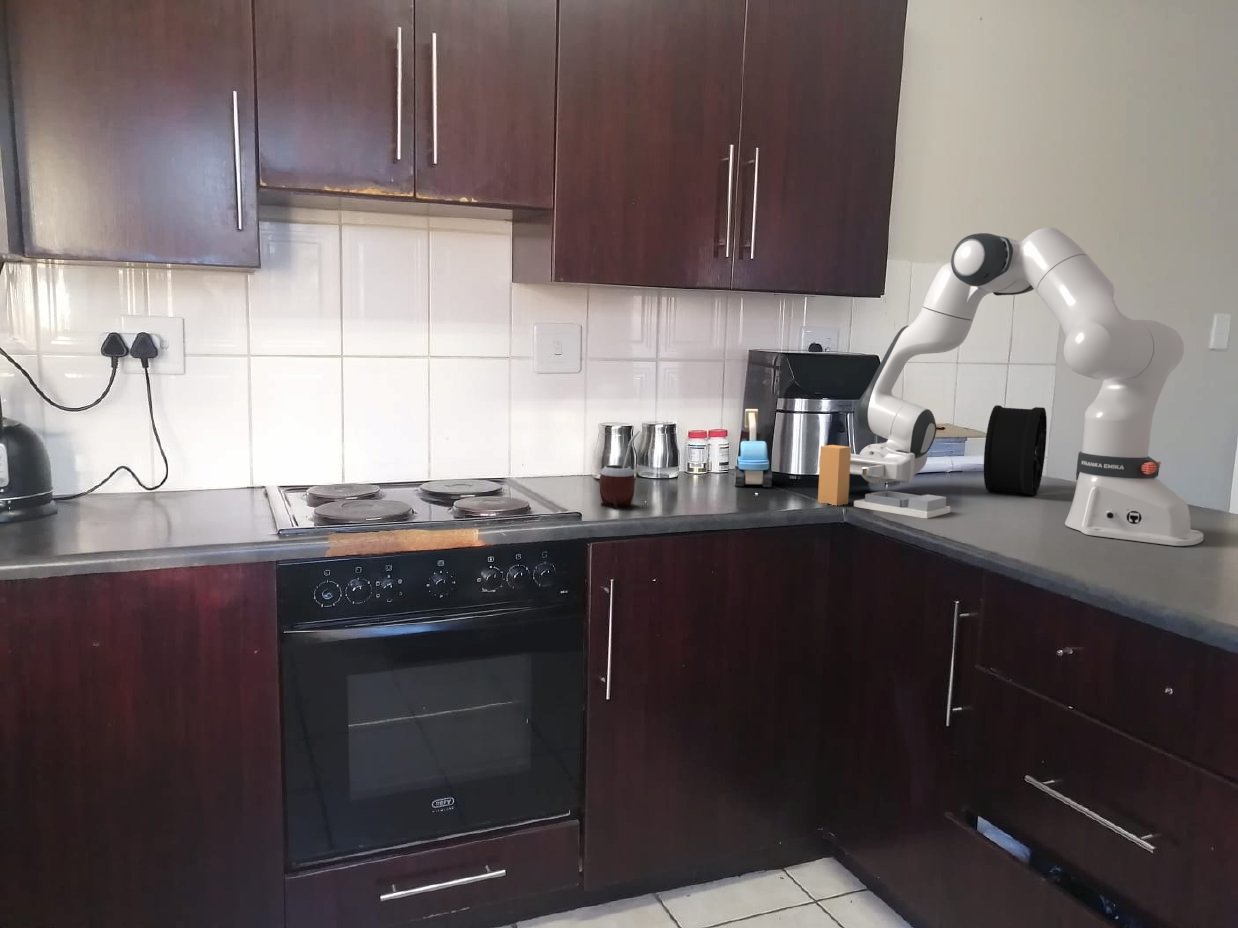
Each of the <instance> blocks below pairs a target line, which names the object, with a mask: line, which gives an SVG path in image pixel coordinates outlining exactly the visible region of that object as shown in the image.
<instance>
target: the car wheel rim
mask: <svg viewBox="0 0 1238 928" xmlns="http://www.w3.org/2000/svg"><path fill="white" fill-rule="evenodd" d="M1046 411H1047V410H1046V408H1045V407H1040V406H1035V407H1032V408H1019V407H1018V408H1015V407H1014V408H1013V407H1003V405H998V404H996V405H994V406H993V408H992V410H991V412H990V415H989V419H988V424H987V428H986V429H987V430H986V434H985V441H984V442H985V443H984V450H983V451H984V452H983V453H984V454H983V481H984V486H985V490H986V491H988V492H989V491H994V490H998V491H999V490H1000V491H1009V492H1020V493H1023V494H1025V495H1026V496H1036V495H1038V492H1039V489H1040V486H1041V481H1042V476H1043V471H1044V464H1045V457H1046V446H1047V432H1048V431H1047V430H1048V429H1047V428H1048V427H1047V426H1048V425H1047V424H1048V423H1047V419H1048V418H1047V412H1046Z"/></svg>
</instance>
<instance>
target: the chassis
mask: <svg viewBox="0 0 1238 928" xmlns="http://www.w3.org/2000/svg"><path fill="white" fill-rule="evenodd" d="M853 507H854V508H861V509H866V510H873V511H877V512H883V513H891V514H897V515H901V516H907V517H908V516H909V517H914V518H921V519H931V518H934V517H939V516H942V515H945V514H949V513H951V506H949V505H948V506H947V496H942V495H933V494H922V495H920V494H919V495H918V494H913V493H906V492H899V491H891V490H880V491H876V492H870V493H866V494H864V498H862V499H856V500H853Z"/></svg>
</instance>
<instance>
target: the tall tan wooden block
mask: <svg viewBox="0 0 1238 928" xmlns="http://www.w3.org/2000/svg"><path fill="white" fill-rule="evenodd" d="M819 452H820V454H819V458H820V468H819V474H818V491H817V492H818V493H817V503H818V502H819V503H818V504H821V503H829V504H832V505H831V506H833V505H836V506H835V507H838V506H844V505H848V503H849V493H850V475H851V474H850V459H851V454H852V447H851V446H846V445H836V444H829V445H821V446H820V451H819ZM843 504H844V505H843ZM837 505H838V506H837Z"/></svg>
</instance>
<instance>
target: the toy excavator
mask: <svg viewBox="0 0 1238 928" xmlns="http://www.w3.org/2000/svg"><path fill="white" fill-rule="evenodd" d="M758 419H759V409H758V408H745V410H744V429H749V440H743V441H741V442H740V446H739V447H740V456H739V455H738V457H737V465H735V466H734V474H733V478H734V487H735V488H736V487H737V488H738V487H740V488H742V487H744V486H745V485H762V487H763V488H771V487H772V484H773V481H772V480H773V471H772V467H771V466H770V460H769V458H768V445H767V442H766V441H764V440H757V429H758V421H759V420H758Z"/></svg>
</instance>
